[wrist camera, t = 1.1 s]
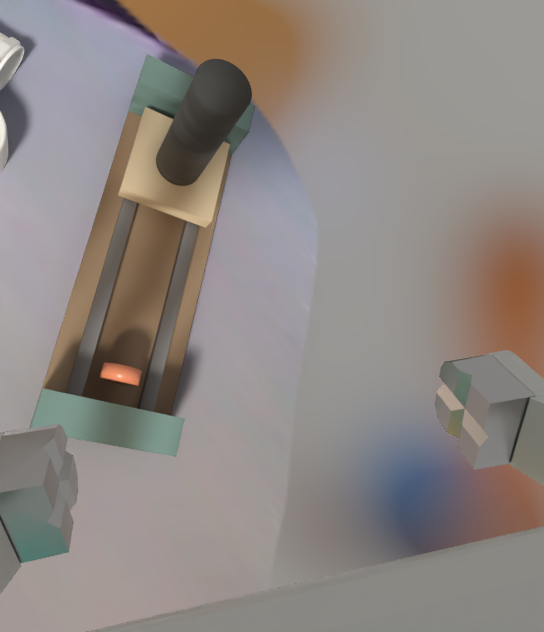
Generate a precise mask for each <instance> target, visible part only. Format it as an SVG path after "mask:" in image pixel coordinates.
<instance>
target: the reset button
mask: <svg viewBox="0 0 544 632" xmlns="http://www.w3.org/2000/svg"><path fill="white" fill-rule="evenodd" d="M141 374H142V371H141V370H139V369H136V368H133V367H129V366H126V365H121V364H116V363H104V364H103V367H102V371H101V374H100V379H103V380H105V381H109V382H113V383H117V384H121V385H127V386H138V385H139V381H140V378H141Z"/></svg>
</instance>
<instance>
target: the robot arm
mask: <svg viewBox="0 0 544 632" xmlns="http://www.w3.org/2000/svg"><path fill="white" fill-rule="evenodd" d="M439 377H440V378H441V379H442V381H443V382H444V384H443V386H442V387H441V388H440V389H439V390H438V391H437V393H436V401H435V406H436V412H437V417H438V419H439V421H440V423H441V425H442V427H443V428H444V430H445V431H446V432H447V433H448V434H450V435H452V436H454V437H456V438H458V439H459V440H458V449H459V450H460V451H461V453H462V454H463V455H464V457H465V458H466V459H467V461H468V462H469V463H470V465H471V466H472V467H473V469H480V468H486V467H492V466H498V465H503V464H509V463H511V464H510V465H511V466H512V467H514V468H516V469H518V470H519V471H521V472H522V473H524V474H525V475H527V476H529V477H530V478H532V479H533V480H535V481H537V482H538V483H540V484H541V485H543V486H544V379H542V378H541V377H540V376H539V375H538V374H537V373H536V372H535V371H533V370H532V369H531V368H530V367H528V365H527V364H525V363H524V362H523V361H522V360H521V359H520V358H519V357H518V356H516V355H515V354H514V353H513V352H510V351H507V350H506V351H500V352H494V353H489V354H486V355H481V356H475V357H470V358H463V359H457V360H452V361H445V362H444V363H443V365H442V367H441V371H440V376H439ZM66 444H67V437H66V434H65V431H64V428H63V426H61V425H60V424H57V425H50V426H43V427H36V428H28V429H21V430H14V431H7V432H6V433H5V432H3V433H0V594H1V593H2V591H3V590H4V589H5V587H6V586H7V584H8V583H9V582H10V580H11V579H12V578H13V576H14V575H15V574H16V572H17V571H18V570H19V568H20V567H21V564H20V563H24V562H29V561H33V560H37V559H41V558H46V557H50V556H54V555H59V554H63V553H67V552H69V548H70V541H71V535H72V528H73V519H72V516H71V513H70V509H71V508H72V507H73V506H74V505H75V504H76V501H77V493H78V476H77V470H76V465H75V461H74V458H73V455H71V454H69V453H68V452H66V451H65V449H66ZM87 632H544V526H543V527H539V528H534V529H530V530H525V531H521V532H516V533H512V534H508V535H503V536H499V537H495V538H490V539H486V540H482V541H478V542H473V543H469V544H464V545H460V546H456V547H452V548H447V549H443V550H439V551H435V552H430V553H426V554H421V555H417V556H413V557H408V558H404V559H400V560H396V561H391V562H386V563H382V564H378V565H373V566H370V567H365V568H361V569H356V570H352V571H347V572H344V573H339V574H334V575H330V576H326V577H321V578H317V579H313V580H308V581H304V582H300V583H295V584H291V585H286V586H282V587H278V588H274V589H269V590H265V591H260V592H256V593H252V594H247V595H243V596H239V597H234V598H230V599H226V600H221V601H217V602H213V603H208V604H204V605H200V606H195V607H191V608H187V609H182V610H178V611H174V612H169V613H165V614H161V615H156V616H152V617H147V618H143V619H139V620H134V621H130V622H126V623H121V624H117V625H113V626H108V627H104V628H100V629H95V630H91V631H87Z"/></svg>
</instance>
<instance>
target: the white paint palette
mask: <svg viewBox="0 0 544 632" xmlns="http://www.w3.org/2000/svg"><path fill="white" fill-rule="evenodd" d="M24 51H25V50H24V47H22V46H21V45H20V42H19V41H18V40H16V39H15V38H13V37H10V38H8V37H7V36H5V35H4V34H2V33H1V32H0V90H1V89H2V88H4V86H5V85H6V84H7V83H8V82H9V80H10V79H11V78H12V76H13V75H14V73H15V72H16V70H17V68H18V67H19V65H20V63H21V61H22V59H23V56H24ZM8 152H9V151H8V135H7V126H6V122H5V119H4V117H3V115H2V113H1V111H0V172H1V171H2V170H3V168H4V167H5V165H6V162H7V159H8Z"/></svg>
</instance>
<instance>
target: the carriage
mask: <svg viewBox="0 0 544 632" xmlns="http://www.w3.org/2000/svg"><path fill="white" fill-rule="evenodd" d="M251 97H252V92H251V87H250V84H249V81H248V80H247V78H246V76H245V75H244V74H243V72H242V71H241V70H240V69H239V68H237V67H236V66H235V65H233V64H231V63H230V62H227V61H224V60H220V59H211V60H208V61H205V62H204V63H202V64H201V65H200V66H199V68H198V70H197V72H196V74H195V76H194V78H193V80H192V82H191V84H190V86H189V88H188V90H187V92H186V95H185V97H184V99H183V101H182V103H181V105H180V107H179V109H178V111H177V113H176V115H175V117H174V119H172V118H169V117H167V116H165V115H163V114H160V113H158V112H156V111H154V110H151V109H149V108H147V107H145V109H144V112H143V114H142V117H141V120H140V124H139V127H138V130H137V133H136V137H135V140H134V143H133V147H132V150H131V153H130V157H129V160H128V163H127V167H126V170H125V173H124V177H123V180H122V183H121V186H120V190H119V193H118V196H121V197H123V198H126V199H129V200H132V201H134V202H137V203H140V204H143V205H145V206H148V207H151V208H153V209H156V210H159V211H162V212H164V213H167V214H170V215H172V216H175V217H178V218H181V219H183V220H186V221H189V222H191V223H194V224H197V225H200V226H202V227H205V228H206V227H207V226H208V225H209V224H210V223H211V221H212V219H213V214H214V210H215V206H216V202H217V197H218V193H219V189H220V185H221V180H222V176H223V172H224V168H225V163H226V159H227V155H228V151H229V147H230V144H228V143H226V142H224V140H225V139H226V137H227V136H228V135H229V133H230V132H231V130H232V129H233V127H234V126H235V125H236V123H237V122H238V120H239V119H240V117H241V116H242V114H243V113H244V112H245V110H246V109H247V107H248V106H249V104H250V102H251Z"/></svg>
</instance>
